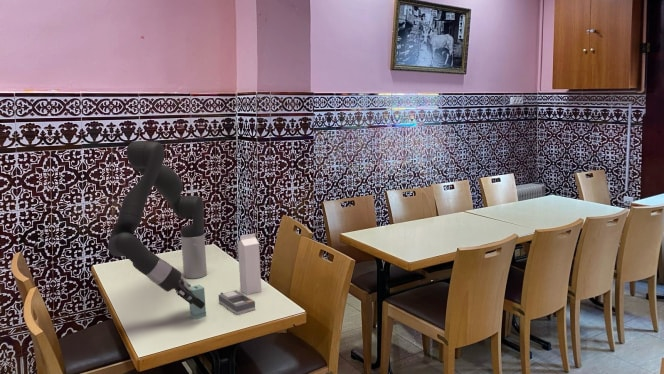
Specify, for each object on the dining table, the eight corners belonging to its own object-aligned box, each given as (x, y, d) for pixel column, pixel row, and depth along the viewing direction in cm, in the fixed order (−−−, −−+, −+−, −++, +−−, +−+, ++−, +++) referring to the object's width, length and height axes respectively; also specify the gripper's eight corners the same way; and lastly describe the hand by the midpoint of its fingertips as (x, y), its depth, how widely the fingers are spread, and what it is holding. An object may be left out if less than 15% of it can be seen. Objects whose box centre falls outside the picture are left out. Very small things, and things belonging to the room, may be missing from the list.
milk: (261, 291, 209) (259, 235, 205) (246, 295, 206) (243, 237, 202) (254, 286, 214) (252, 231, 210) (239, 290, 211) (237, 234, 207)
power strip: (213, 298, 203) (212, 290, 202) (230, 294, 207) (229, 285, 207) (236, 314, 188) (236, 305, 187) (255, 309, 192) (254, 300, 192)
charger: (190, 315, 189) (187, 287, 187) (201, 312, 191) (199, 284, 189) (194, 319, 185) (192, 290, 184) (206, 315, 188) (204, 287, 186)
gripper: (173, 272, 176) (212, 300, 182) (169, 259, 189) (205, 286, 195) (157, 290, 175) (197, 318, 181) (153, 276, 188) (191, 303, 194)
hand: (201, 302), depth 188 cm, fingers open, 8 cm apart
